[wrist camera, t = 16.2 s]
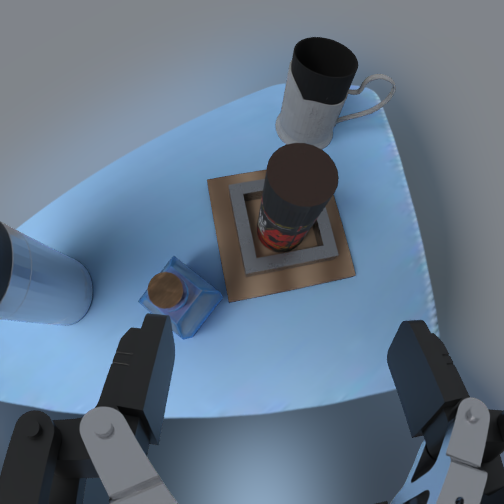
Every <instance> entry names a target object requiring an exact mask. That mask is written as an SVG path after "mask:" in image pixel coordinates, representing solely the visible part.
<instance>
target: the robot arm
mask: <svg viewBox="0 0 504 504" xmlns="http://www.w3.org/2000/svg"><path fill="white" fill-rule="evenodd" d="M92 295H93V286H92V281H91V277H90V275H89V272H88V271H87V269H86V268H85V267H84V266H83V265H82V264H81V263H80V262H78V261H77V260H75V259H73V258H71V257H69V256H67V255H65V254H63V253H61V252H59V251H57V250H55V249H52V248H50V247H48V246H46V245H44V244H42V243H40V242H38V241H37V240H35V239H33V238H31V237H29V236H27V235H25V234H23V233H21V232H19V231H17V230H15V229H13V228H11V227H9V226H8V225H6V224H4V223H2V222H0V319H2V320H11V321H21V322H31V323H43V324H53V325H71V324H74V323H76V322H78V321H79V320H80V319H82V318H83V316H84V315H85V314H86V312H87V311H88V309H89V307H90V304H91V301H92ZM448 354H449V353H448V351H447V349H446V347H445V346H444V344H443V342H442V341H441V340H440V339H439V338H438V337H437V336H436V335H435V334H434V333H431V332H430V331H429V329H428V327H427V325H426V323H425V322H424V321H423V320H412V321H403V322H402V323H401V325H400V327H399V329H398V331H397V333H396V335H395V337H394V339H393V341H392V343H391V345H390V347H389V350H388V354H387V362H388V366H389V369H390V372H391V375H392V378H393V380H394V383H395V386H396V389H397V392H398V395H399V398H400V401H401V404H402V407H403V410H404V413H405V416H406V419H407V423H408V425H409V429H410V432H411V436H412V438H413V437H418V436H424V439H425V441H423V443H422V444H421V447H420V449H419V452H418V454H417V457H416V459H415V462H414V464H413V466H412V469H411V471H410V473H409V476H408V478H407V480H406V482H405V484H404V486H403V487H402V489H401V490H400V491H399V492H398V493H397V495H396V496H395V497H394V499H393V500H392V502H391V503H390V504H504V467H503V464H502V461H501V457H500V454H501V453H502V452H503V451H504V411H501V410H488V409H487V407H486V405H485V404H484V403H483V402H482V401H480V400H479V399H476V398H470V396H469V395H468V392H467V390H466V388H465V386H464V384H463V382H462V380H461V377H460V375H459V373H458V371H457V369H456V367H455V366H454V365H453V361H452V359H451V357H450V356H449V355H448ZM174 360H175V345H174V338H173V332H172V325H171V319H170V316H169V315H160V314H146V316H145V318H144V321H143V324H142V327H141V329H140V328H130V329H129V330H128V331H127V332H126V333H125V335H124V336H123V337H122V338H121V340H120V342H119V345H118V348H117V350H116V354H115V356H114V358H113V363H112V364H111V367H110V370H109V373H108V375H107V378H106V381H105V384H104V387H103V390H102V393H101V396H100V399H99V402H98V404H97V406H96V407H95V408H94V409H92V410H90V411H89V412H87V413H86V414H85V415H84V417H82V418H77V419H67V420H51V419H50V417H49V416H48V415H47V414H45V413H43V412H41V411H29V412H26V413H25V414H23V415H22V416H21V417H20V418H19V419H18V421H17V423H16V425H15V428H14V431H13V434H12V437H11V441H10V443H9V447H8V450H7V454H6V457H5V460H4V464H3V468H2V472H1V476H0V504H83V498H84V491H85V485H86V479H87V478H97V477H100V479H101V481H102V483H103V484H104V486H105V489H106V490H107V492H108V495H109V498H110V499H109V503H110V504H178V503H177V502H176V500H175V499H174V497H173V496H172V494H171V493H170V492H169V490H168V489H167V487H166V486H165V484H164V483H163V481H162V480H161V478H160V477H159V475H158V474H157V472H156V470H155V469H154V467H153V466H152V464H151V462H150V461H149V459H148V458H147V454H148V449H149V444H155V445H159V441H160V435H161V429H162V424H163V418H164V413H165V407H166V402H167V397H168V391H169V386H170V381H171V376H172V371H173V366H174ZM376 504H388V502H387V501H386V502H381V503H376Z"/></svg>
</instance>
